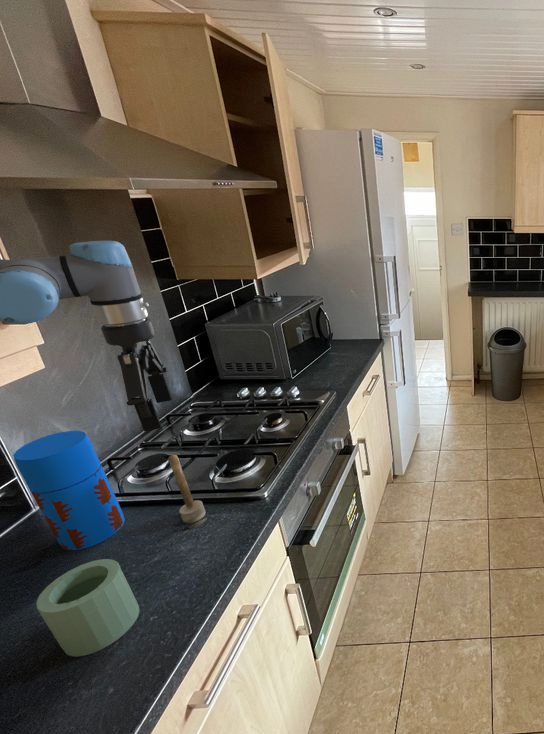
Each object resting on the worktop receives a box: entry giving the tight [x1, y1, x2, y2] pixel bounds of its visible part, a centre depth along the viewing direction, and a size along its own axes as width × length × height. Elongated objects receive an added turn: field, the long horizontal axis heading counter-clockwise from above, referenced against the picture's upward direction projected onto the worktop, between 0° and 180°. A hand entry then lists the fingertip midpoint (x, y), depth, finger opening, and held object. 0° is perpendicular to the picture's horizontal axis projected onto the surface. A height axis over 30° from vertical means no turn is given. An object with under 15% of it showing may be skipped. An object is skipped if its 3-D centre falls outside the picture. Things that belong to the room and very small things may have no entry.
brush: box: [168, 454, 208, 529], centre depth 95 cm, size 4×4×19 cm
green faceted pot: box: [35, 558, 140, 658], centre depth 73 cm, size 10×10×11 cm
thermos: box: [13, 430, 126, 551], centre depth 90 cm, size 11×11×25 cm
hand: (159, 414), depth 90 cm, fingers open, 13 cm apart
